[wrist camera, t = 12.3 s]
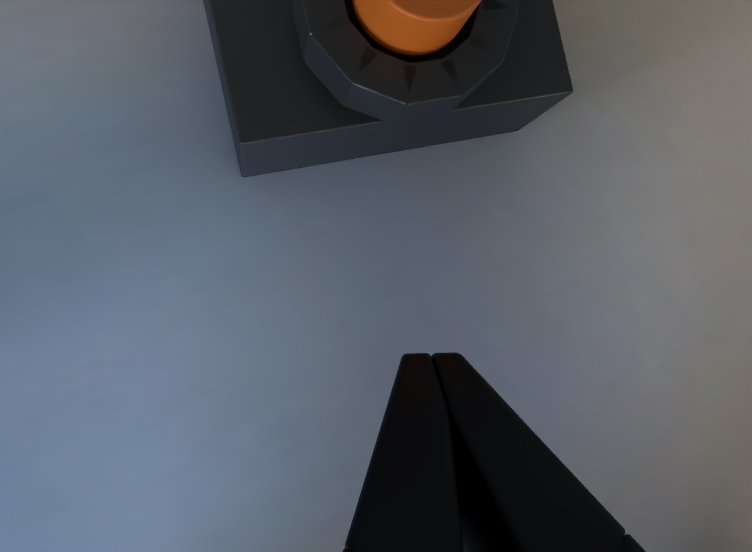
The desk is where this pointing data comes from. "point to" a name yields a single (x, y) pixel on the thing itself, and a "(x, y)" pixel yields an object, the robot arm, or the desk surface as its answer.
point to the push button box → (376, 80)
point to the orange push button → (413, 23)
